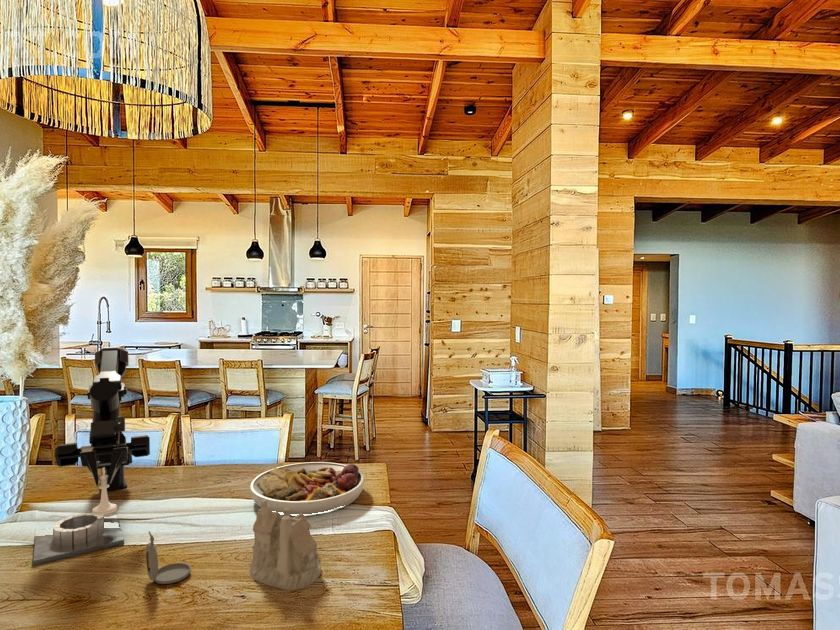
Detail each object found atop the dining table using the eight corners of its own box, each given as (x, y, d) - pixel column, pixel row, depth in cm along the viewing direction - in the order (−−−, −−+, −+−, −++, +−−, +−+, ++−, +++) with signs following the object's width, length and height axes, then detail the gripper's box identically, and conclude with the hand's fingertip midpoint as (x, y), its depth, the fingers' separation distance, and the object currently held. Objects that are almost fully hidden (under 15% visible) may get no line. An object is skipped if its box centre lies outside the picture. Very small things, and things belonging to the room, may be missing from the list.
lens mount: (35, 535, 118) (35, 517, 117) (117, 517, 127) (116, 501, 127) (33, 565, 104) (32, 546, 104) (124, 543, 114) (123, 526, 114)
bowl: (257, 531, 121) (257, 498, 121) (245, 486, 148) (244, 459, 148) (378, 510, 133) (378, 480, 133) (346, 472, 160) (346, 447, 160)
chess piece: (93, 517, 114) (92, 473, 114) (90, 510, 118) (89, 467, 117) (119, 511, 117) (118, 468, 117) (114, 504, 121) (114, 462, 121)
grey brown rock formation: (290, 596, 94) (291, 513, 95) (233, 572, 103) (235, 496, 104) (347, 565, 107) (348, 492, 108) (292, 546, 116) (294, 479, 117)
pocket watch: (198, 571, 103) (197, 521, 103) (164, 594, 95) (163, 540, 95) (165, 563, 106) (165, 515, 105) (130, 585, 98) (129, 533, 97)
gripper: (54, 409, 116) (47, 474, 106) (149, 402, 124) (149, 461, 115) (61, 435, 123) (54, 497, 114) (149, 426, 132) (150, 483, 122)
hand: (103, 484), depth 116 cm, fingers closed on chess piece
